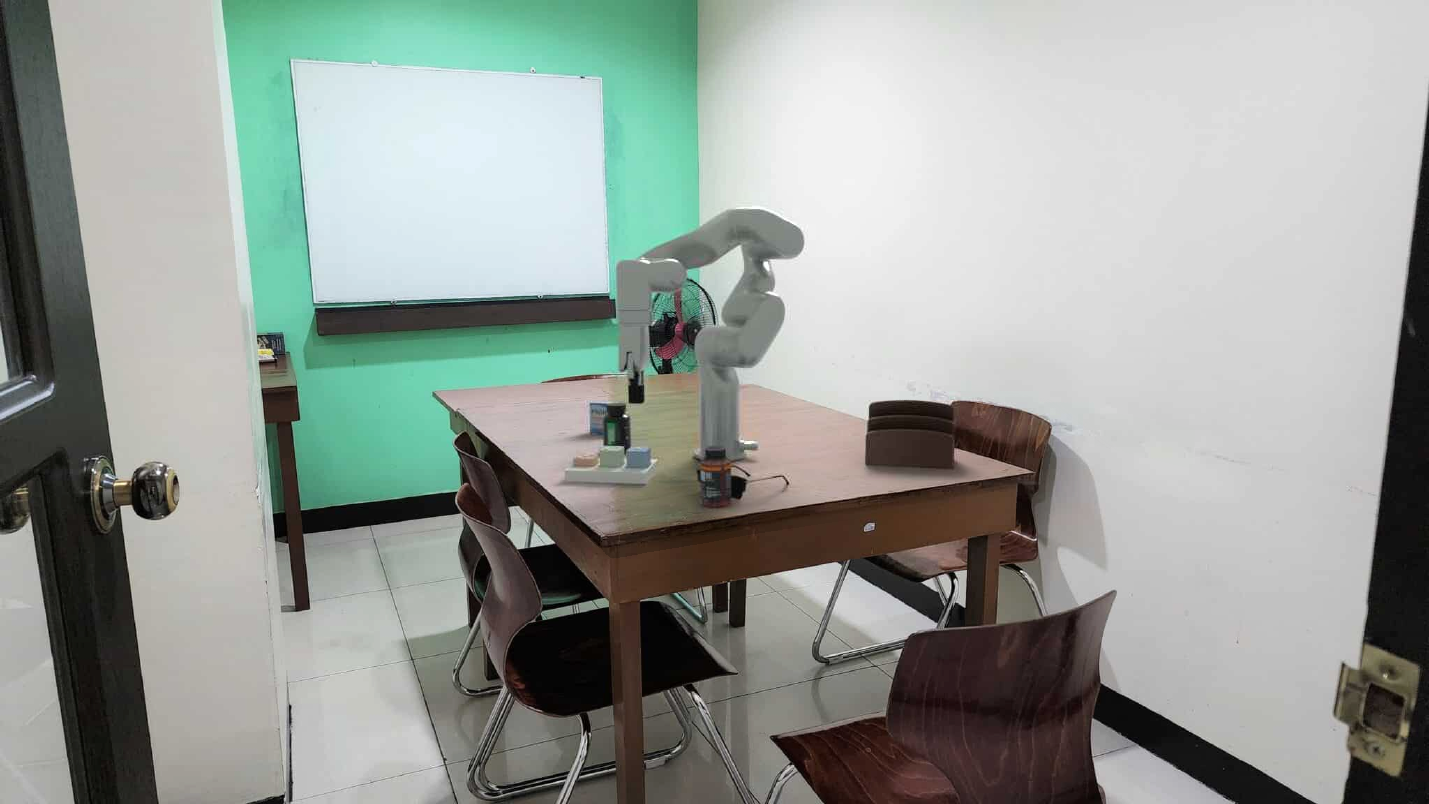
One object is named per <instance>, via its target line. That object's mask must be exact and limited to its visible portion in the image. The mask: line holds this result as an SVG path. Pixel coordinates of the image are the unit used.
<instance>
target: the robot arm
mask: <svg viewBox="0 0 1429 804" xmlns="http://www.w3.org/2000/svg"><path fill="white" fill-rule="evenodd" d="M738 246H739V247H740V249H741V255H742V260H743V273H742V275H741V277H740V279H739V280H738V281H737V283H736V285H734V288H733V290H732V291H731V292H730V294H729V296H728V298H726V301H725V302H724V304H723V306H722V308H721V313H720V314H721V315H720V317H721V320H722V322H723V324H712V325H708V326H705V327H703V328H702V329H700V331H698V333H697V335H696V336H695V340H694V352H695V356H696V357H695V358H696V361H697V368H698V378H699V435H700V436H699V439H700V440H699V441H700V443H699V444H700V447H699V448H697V449H695V450H694V451H693V456H694V458H695V459H697V460H702V459H703V458H704V457H705V456H706V455H705V448H706V447H709V446H723V447H725V448H726V454H725V455H726V457H727V458H729V459H730V461H731V462H732V461H738V460H742V459H744V458H745V457H747V451H755V452H756V451H758V450H759V443H758V442H755V441H750V440H749V441H745V440H744V439H743V435H740V429H741V428H740V424H741V423H740V422H741V421H740V417H741V416H740V388H741V387H740V379H739V376H738V373H737V370H736V369H735V368H738V369H752V368H754V367H756V366H758V364H760V362H761V361H762V360H763V358H764V357H765V355H766V354H767V352H768V350H769V349H770V348H771V346H772V344H773V342H774V340H775V339H776V337H777V335H778V334H779V333H780V330H781V329H782V326H783V325H784V321H785V316H786V307H785V303H784V301H783V299H782V297H780V296H779V294H777V293H775V292H774V289H775V287H776V278H775V277H776V276H775V273H774V271H773V267H772V265H771V260H792V259H795V258H797V257H798V256H799V255H800V254H801V253H802V252H803V249H804V246H805V236H804V233H803V231H802V229H801V228H800V227H799V226H798V224H796V223H795V222H794V221H791V220H789V219H787V218H785V217H783V216H781V215H779V214H777V213H775V212H774V211H772V210H769V209H766V208H765V207H761V206H744V207H743V206H742V207H732V208H727V209H726V210H724V211H722V212H720V213H719V214H717V215H716V216H714V217H713V218H711V219H710V220H708V221H707V222H705V223H703V224H702V225H701V226H699V227H698V228H696V229H695V230H693V231H691V232H689V233H684V234H683V235H680V236H678V237H676V238H673V239H671V240H668V241H666V242H663V243H661V244H658V245H656V246H654V247H652V248H651V249H648V251H646V252H644V253H643V254H641V255H639V256H638V257H637V258H636V259H623V260H619V261H618V262H617V264H616V267H615V272H616V275H615V276H616V278H615V280H616V282H615V283H616V317H617V318H616V323H617V326H618V327H619V333H618V334H619V335H618V355H617V356H618V359H617V360H618V365H617V366H618V367H617V369H618V371H619V372H620V373H625V372H626V371H627V372H626V373H627V375H626V378H627V389H628V393H627V395H628V396H627V397H628V403H629V404H632V405H633V404H634V405H635V404H637V405H642V404H644V403H645V398H646V397H645V370H647V369H648V368H649V367H650V363H651V353H650V352H651V349H650V347H651V346H650V331H649V327H650V326H653V325H654V324H653V321H654V320H653V294H666V295H667V294H668V295H669V294H675V293H677V292H679V291H681V290H682V289H683V288H684V287H685V285H686V283H687V282H688V272H687V271H688V270H694V269H699V268H704V267H707V266H709V265H712V264H714V263H715V262H717V261H718V260H719V259H721V258H722V257H724V256H725V255H727V254H728V253H729V252H731V251H733V250H734V249H735V248H737V247H738Z"/></svg>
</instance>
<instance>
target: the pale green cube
mask: <svg viewBox="0 0 1429 804" xmlns="http://www.w3.org/2000/svg"><path fill="white" fill-rule="evenodd" d="M599 458H600V467H610V468H621V467H622V466H623V465H624V464H625V460H624V459H625V454H624V446H603V447H602V448H600V449H599Z"/></svg>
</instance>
